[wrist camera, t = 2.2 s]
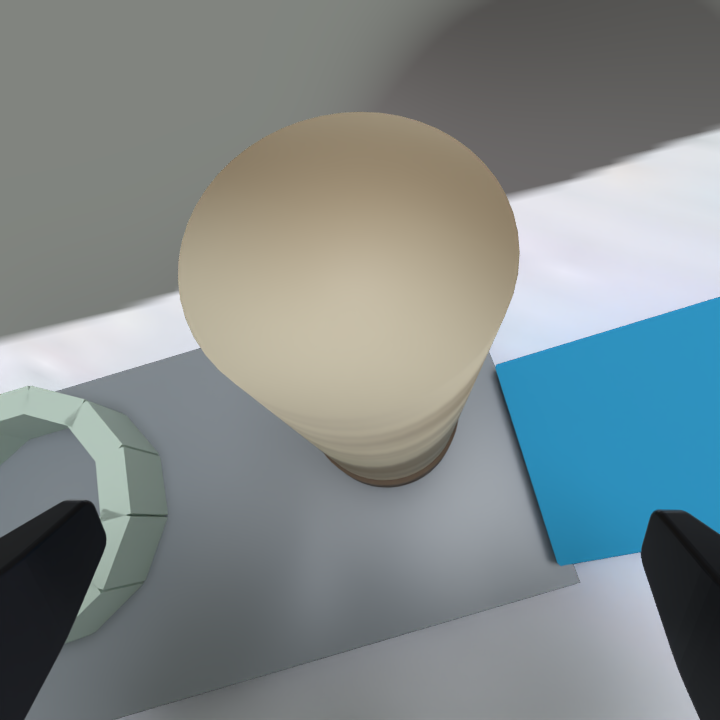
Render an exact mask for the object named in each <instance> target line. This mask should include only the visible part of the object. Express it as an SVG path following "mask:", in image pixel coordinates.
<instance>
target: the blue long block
mask: <svg viewBox="0 0 720 720" xmlns="http://www.w3.org/2000/svg"><path fill="white" fill-rule="evenodd" d="M495 368H496V371H497V375H498V378H499V381H500V384H501V387H502V390H503V394H504V397H505V400H506V403H507V406H508V409H509V412H510V416H511V419H512V422H513V425H514V428H515V431H516V434H517V438H518V441H519V444H520V447H521V450H522V453H523V456H524V460H525V463H526V466H527V469H528V472H529V475H530V478H531V482H532V485H533V488H534V491H535V494H536V497H537V500H538V504H539V507H540V510H541V513H542V516H543V519H544V522H545V526H546V529H547V532H548V535H549V538H550V541H551V544H552V548H553V551H554V554H555V557H556V560H557V563H558V564H559V565H560V566H564V565H570V564H576V563H581V562H587V561H593V560H598V559H604V558H610V557H615V556H621V555H627V554H633V553H638V552H641V548H642V543H643V540H644V536H645V533H646V529H647V526H648V522H649V519H650V516H651V514H652V513H653V511H655V510H658V509H668V510H683V511H686V512H688V513H690V514H691V515H693V516H694V517H696V518H697V519H699V520H700V521H701V522H703V523H704V524H706V525H707V526H709V527H710V528H712V529H713V530H715V531H716V532H718V533H719V534H720V297H718V298H714V299H711V300H708V301H705V302H701V303H698V304H695V305H691V306H688V307H685V308H682V309H678V310H675V311H672V312H668V313H665V314H662V315H658V316H655V317H652V318H649V319H645V320H642V321H639V322H635V323H632V324H629V325H626V326H622V327H619V328H616V329H612V330H609V331H606V332H602V333H599V334H596V335H593V336H589V337H586V338H583V339H579V340H576V341H573V342H570V343H566V344H563V345H560V346H556V347H553V348H550V349H546V350H543V351H540V352H537V353H533V354H530V355H527V356H523V357H520V358H517V359H514V360H510V361H507V362H504V363H500V364H497V365H496V367H495Z"/></svg>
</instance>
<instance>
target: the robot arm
mask: <svg viewBox="0 0 720 720" xmlns="http://www.w3.org/2000/svg"><path fill="white" fill-rule="evenodd" d="M106 541H107V538H106V532H105V530H104V527H103V525H102V522H101V520H100V517H99V515H98V512H97V510H96V507H95V505H94V504H93V503H92V502H91V501H89V500H76V499H69V500H64V501H62V502H60V503H58V504H57V505H55V506H53V507H52V508H50V509H48V510H46V511H45V512H43V513H41V514H40V515H38V516H36V517H34V518H33V519H31V520H29V521H28V522H26V523H24V524H22V525H21V526H19V527H17V528H16V529H14V530H12V531H10V532H9V533H7V534H5V535H4V536H2V537H0V720H25V718H26V716H27V714H28V712H29V711H30V709H31V707H32V705H33V703H34V701H35V699H36V697H37V695H38V694H39V692H40V690H41V688H42V686H43V684H44V682H45V680H46V678H47V677H48V675H49V673H50V671H51V669H52V667H53V665H54V663H55V661H56V660H57V658H58V656H59V654H60V652H61V650H62V648H63V646H64V644H65V642H66V640H67V638H68V635H69V633H70V631H71V629H72V627H73V624H74V622H75V620H76V617H77V615H78V613H79V610H80V608H81V605H82V603H83V601H84V598H85V596H86V593H87V591H88V589H89V586H90V584H91V582H92V579H93V577H94V574H95V572H96V570H97V567H98V565H99V562H100V560H101V558H102V555H103V553H104V550H105V547H106ZM641 558H642V563H643V567H644V570H645V573H646V576H647V579H648V582H649V585H650V588H651V591H652V594H653V597H654V600H655V603H656V606H657V609H658V612H659V615H660V618H661V621H662V624H663V627H664V630H665V633H666V636H667V639H668V642H669V645H670V648H671V651H672V654H673V657H674V660H675V662H676V665H677V668H678V670H679V673H680V675H681V678H682V680H683V682H684V685H685V687H686V689H687V692H688V694H689V696H690V698H691V701H692V703H693V705H694V707H695V710H696V712H697V714H698V716H699V718H700V720H720V534H719V533H718V532H716V531H715V530H713V529H712V528H710V527H709V526H707V525H706V524H704V523H703V522H701V521H700V520H699V519H697V518H696V517H694V516H693V515H691V514H690V513H688V512H686V511H683V510H668V509H658V510H655V511H653V513H652V514H651V516H650V519H649V522H648V526H647V529H646V533H645V536H644V540H643V543H642V548H641Z"/></svg>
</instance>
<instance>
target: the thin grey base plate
mask: <svg viewBox="0 0 720 720" xmlns="http://www.w3.org/2000/svg"><path fill="white" fill-rule="evenodd" d="M69 499H76V500H89V501H91V502H92V503H93V504H94V505H95V507H96V510H97V512H98V515H99V517H100V520H101V522H102V525H103V527H104V530H105V532H106V538H107V541H106V547H105V550H104V553H103V555H102V558H101V560H100V562H99V565H98V567H97V570H96V572H95V574H94V577H93V579H92V582H91V584H90V586H89V589H88V591H87V593H86V596H85V598H84V601H83V603H82V605H81V608H80V610H79V613H78V615H77V617H76V620H75V622H74V624H73V627H72V629H71V631H70V633H69V635H68V638H67V640H66V642H65V644H64V646H63V648H62V650H61V652H60V654H59V656H58V658H57V660H56V661H55V663H54V665H53V667H52V669H51V671H50V673H49V675H48V677H47V678H46V680H45V682H44V684H43V686H42V688H41V690H40V692H39V694H38V695H37V697H36V699H35V701H34V703H33V705H32V707H31V709H30V711H29V712H28V714H27V716H26V718H25V720H114V719H118V718H121V717H125V716H128V715H131V714H135V713H138V712H142V711H145V710H148V709H152V708H155V707H159V706H162V705H165V704H169V703H172V702H176V701H179V700H182V699H186V698H189V697H193V696H196V695H199V694H203V693H206V692H210V691H213V690H217V689H220V688H223V687H227V686H230V685H234V684H237V683H240V682H244V681H247V680H251V679H254V678H257V677H261V676H264V675H268V674H271V673H274V672H278V671H281V670H285V669H288V668H291V667H295V666H298V665H302V664H305V663H308V662H312V661H315V660H319V659H322V658H325V657H329V656H332V655H336V654H339V653H342V652H346V651H349V650H353V649H356V648H359V647H363V646H366V645H370V644H373V643H376V642H380V641H383V640H387V639H390V638H393V637H397V636H400V635H404V634H407V633H410V632H414V631H417V630H421V629H424V628H427V627H431V626H434V625H438V624H441V623H445V622H448V621H451V620H455V619H458V618H462V617H465V616H468V615H472V614H475V613H479V612H482V611H485V610H489V609H492V608H496V607H499V606H502V605H506V604H509V603H513V602H516V601H519V600H523V599H526V598H530V597H533V596H536V595H540V594H543V593H547V592H550V591H553V590H557V589H560V588H564V587H567V586H570V585H574V584H577V583H580V580H579V578H578V575H577V573H576V570H575V568H574V565H573V564H570V565H564V566H560V565H559V564H558V563H557V560H556V557H555V554H554V551H553V548H552V544H551V541H550V538H549V535H548V532H547V529H546V526H545V522H544V519H543V516H542V513H541V510H540V507H539V504H538V500H537V497H536V494H535V491H534V488H533V485H532V482H531V478H530V475H529V472H528V469H527V466H526V463H525V460H524V456H523V453H522V450H521V447H520V444H519V441H518V438H517V434H516V431H515V428H514V425H513V422H512V419H511V416H510V412H509V409H508V406H507V403H506V400H505V397H504V394H503V390H502V387H501V384H500V381H499V378H498V375H497V371H496V368H495V365H494V363H493V360H492V358H491V355H490V353H489V352H488V354H487V356H486V359H485V361H484V363H483V365H482V368H481V370H480V372H479V374H478V376H477V379H476V381H475V383H474V385H473V388H472V390H471V392H470V394H469V397H468V399H467V401H466V403H465V405H464V408H463V410H462V412H461V414H460V417H459V419H458V424H457V429H456V432H455V435H454V437H453V440H452V442H451V444H450V446H449V448H448V450H447V452H446V454H445V455H444V457H443V459H442V460H441V461H440V463H439V464H438V465H437V466H436V467H435V468H434V469H433V470H432V471H431V472H430V473H428V474H427V475H426V476H424V477H423V478H421V479H419V480H417V481H415V482H413V483H410V484H407V485H403V486H399V487H391V488H385V487H375V486H370V485H367V484H364V483H361V482H359V481H357V480H355V479H353V478H352V477H350V476H349V475H347V474H346V473H344V472H343V471H341V470H340V469H339V468H338V467H336V466H335V465H334V464H333V463H332V462H331V461H330V460H329V459H328V458H327V457H326V456H325V454H324V453H323V452H322V451H321V450H319V449H318V448H317V447H316V446H314V445H313V444H312V443H310V442H309V441H308V440H307V439H305V438H304V437H303V436H301V435H300V434H299V433H298V432H296V431H295V430H294V429H292V428H291V427H290V426H289V425H287V424H286V423H285V422H283V421H282V420H281V419H280V418H278V417H277V416H276V415H274V414H273V413H272V412H271V411H269V410H268V409H267V408H265V407H264V406H263V405H262V404H260V403H259V402H258V401H256V400H255V399H254V398H253V397H251V396H250V395H249V394H247V393H246V392H245V391H244V390H242V389H241V388H240V387H238V386H237V385H236V384H235V383H234V382H232V381H231V380H230V379H229V378H228V377H226V376H225V375H224V374H223V373H222V372H220V371H219V370H218V369H217V368H216V366H215V365H214V364H213V363H212V362H211V361H210V360H209V358H208V357H207V356H206V355H205V354H204V352H203V351H202V349H201V348H199V349H196V350H192V351H189V352H186V353H182V354H179V355H176V356H172V357H169V358H166V359H162V360H159V361H156V362H152V363H149V364H146V365H142V366H139V367H136V368H132V369H129V370H126V371H122V372H119V373H116V374H112V375H109V376H106V377H102V378H99V379H96V380H92V381H89V382H86V383H82V384H79V385H76V386H72V387H69V388H65V389H62V390H59V391H55V392H54V391H50V390H46V389H42V388H38V387H34V386H31V387H30V386H26V387H23V388H19V389H16V390H13V391H9V392H6V393H3V394H0V537H2V536H4V535H5V534H7V533H9V532H10V531H12V530H14V529H16V528H17V527H19V526H21V525H22V524H24V523H26V522H28V521H29V520H31V519H33V518H34V517H36V516H38V515H40V514H41V513H43V512H45V511H46V510H48V509H50V508H52V507H53V506H55V505H57V504H58V503H60V502H62V501H64V500H69Z"/></svg>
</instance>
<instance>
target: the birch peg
mask: <svg viewBox="0 0 720 720" xmlns="http://www.w3.org/2000/svg"><path fill="white" fill-rule="evenodd" d="M518 266H519V240H518V231H517V227H516V222H515V218H514V214H513V211H512V209H511V206H510V204H509V201H508V199H507V196H506V194H505V193H504V191H503V189H502V188H501V186H500V184H499V182H498V181H497V179H496V177H495V176H494V175H493V174H492V172H491V171H490V170H489V169H488V167H487V166H486V165H485V164H484V162H483V161H481V160H480V159H479V158H478V157H477V156H476V155H475V154H474V153H473V152H472V151H471V150H470V149H469V148H467V147H466V146H464V145H463V144H462V143H460V142H459V141H457V140H456V139H455V138H453V137H451V136H449V135H448V134H446V133H444V132H442V131H440V130H438V129H437V128H434V127H432V126H429V125H427V124H424V123H422V122H419V121H416V120H412V119H409V118H405V117H401V116H397V115H390V114H384V113H371V112H349V113H337V114H331V115H325V116H319V117H315V118H311V119H308V120H304V121H300V122H298V123H295V124H292V125H290V126H287V127H285V128H282V129H280V130H278V131H276V132H274V133H272V134H270V135H268V136H266V137H264V138H262V139H261V140H259V141H258V142H256V143H254V144H253V145H251V146H250V147H248V148H247V149H246V150H244V151H243V152H242V153H241V154H239V155H238V156H237V157H236V158H234V159H233V160H232V161H231V162H230V163H229V164H228V165H227V166H226V167H225V168H224V169H223V170H222V171H221V172H220V173H219V174H218V175H217V176H216V177H215V179H214V180H213V181H212V182H211V184H210V185H209V186H208V187H207V189H206V190H205V192H204V193H203V195H202V197H201V198H200V200H199V201H198V203H197V205H196V207H195V208H194V211H193V213H192V215H191V217H190V220H189V221H188V224H187V227H186V230H185V233H184V237H183V240H182V244H181V249H180V255H179V263H178V284H179V293H180V300H181V304H182V307H183V311H184V315H185V318H186V321H187V323H188V325H189V327H190V330H191V332H192V334H193V336H194V338H195V340H196V341H197V343H198V344H199V346H200V348H201V349H202V351H203V352H204V354H205V355H206V356H207V357H208V358H209V360H210V361H211V362H212V363H213V364H214V365H215V366H216V368H217V369H218V370H219V371H220V372H222V373H223V374H224V375H225V376H226V377H228V378H229V379H230V380H231V381H232V382H234V383H235V384H236V385H237V386H238V387H240V388H241V389H242V390H244V391H245V392H246V393H247V394H249V395H250V396H251V397H253V398H254V399H255V400H256V401H258V402H259V403H260V404H262V405H263V406H264V407H265V408H267V409H268V410H269V411H271V412H272V413H273V414H274V415H276V416H277V417H278V418H280V419H281V420H282V421H283V422H285V423H286V424H287V425H289V426H290V427H291V428H292V429H294V430H295V431H296V432H298V433H299V434H300V435H301V436H303V437H304V438H305V439H307V440H308V441H309V442H310V443H312V444H313V445H314V446H316V447H317V448H318V449H319V450H321V451H322V452H323V453H324V454H325V456H326V457H327V458H328V459H329V460H330V461H331V462H332V463H333V464H334V465H335V466H336V467H338V468H339V469H340V470H341V471H343V472H344V473H346V474H347V475H349V476H350V477H352V478H353V479H355V480H357V481H359V482H361V483H364V484H367V485H370V486H375V487H385V488H391V487H399V486H403V485H407V484H410V483H413V482H415V481H417V480H419V479H421V478H423V477H424V476H426V475H427V474H428V473H430V472H431V471H432V470H433V469H434V468H435V467H436V466H437V465H438V464H439V463H440V461H441V460H442V459H443V457H444V455H445V454H446V452H447V450H448V448H449V446H450V444H451V442H452V440H453V437H454V435H455V432H456V429H457V424H458V419H459V417H460V414H461V412H462V410H463V408H464V405H465V403H466V401H467V399H468V397H469V394H470V392H471V390H472V388H473V385H474V383H475V381H476V379H477V376H478V374H479V372H480V370H481V368H482V365H483V363H484V361H485V359H486V356H487V354H488V352H489V350H490V347H491V345H492V343H493V341H494V339H495V336H496V334H497V332H498V330H499V327H500V325H501V323H502V321H503V319H504V316H505V314H506V311H507V309H508V306H509V304H510V301H511V299H512V296H513V293H514V289H515V284H516V280H517V276H518Z"/></svg>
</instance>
